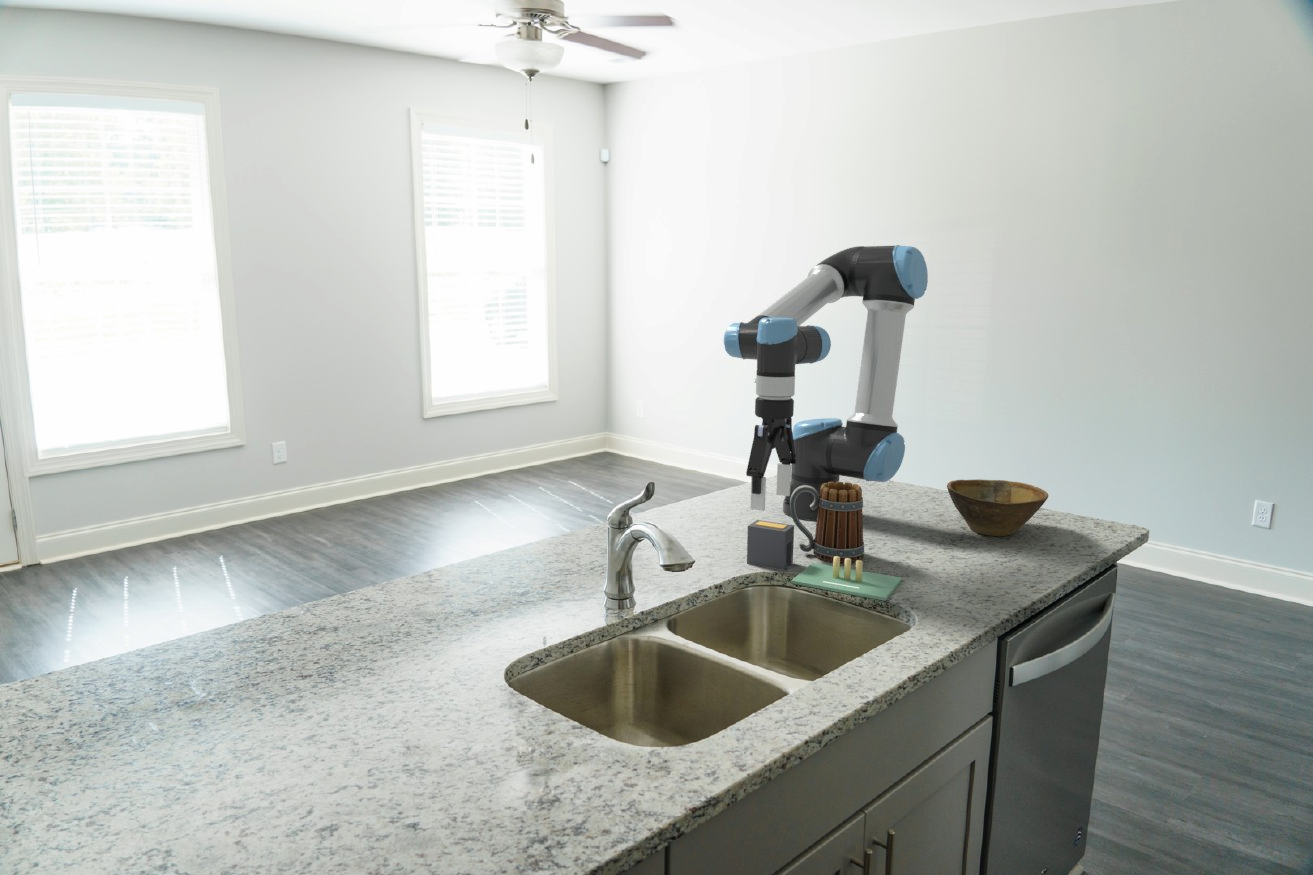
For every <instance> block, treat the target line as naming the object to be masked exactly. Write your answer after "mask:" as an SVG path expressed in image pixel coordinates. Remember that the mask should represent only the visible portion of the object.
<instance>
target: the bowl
mask: <svg viewBox="0 0 1313 875" xmlns="http://www.w3.org/2000/svg"><path fill="white" fill-rule="evenodd" d="M946 488H947V491H948V494H949V496H950V499H951V501H952V503H953V505H954V507H955V509H956V510H957V511H958V513H959V514H960V515H961V517H962V518H963V520H964V521H965V522H966V524H967V525H968V528H969V529H970V530H971V531H973V532H974V533H978V534H982V535H986V536H992V537H1006V536H1010V535H1011V536H1012V535H1013V534H1014V533H1015V532H1016V531H1018V529H1021V528H1022V527H1023V526H1024V525H1025V524H1026V523H1027V522H1028V521H1029V520H1030V519H1032V518H1033V516H1034V515H1035V514H1036V513H1037V512H1038V511H1039V510H1040V509H1041V508H1042V506H1043V505H1044V504H1045V503H1046V501H1047V500H1048V498H1049V494H1048V492H1047V491H1046V490H1044V489H1042V488H1040V487H1038V486H1035V485H1032V484H1029V483H1025V482H1019V481H1010V480H1002V479H955V480H950V481H949V482H948V483H947V485H946Z"/></svg>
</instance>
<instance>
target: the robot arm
mask: <svg viewBox="0 0 1313 875" xmlns="http://www.w3.org/2000/svg"><path fill="white" fill-rule="evenodd" d="M927 266H928V265H927V263H926V259H925V257H924V255H923V253H922V252H921V251H920V250H919V248H917V247H914V246H910V245H908V246H907V245H899V244H897V245H877V246H875V245H874V246H871V245H870V246H868V245H867V246H864V245H863V246H852V247H848V248H846V249H842V250H840V251H839V252H836V253H834V254H832V255H830V256H828V257H826V258H825V259H823V260H822V261H820V262H818V264H816V265H815V266H813V267H812V268H811V269H810V270H809V272H808V275H807V277H806V278H805V279H803V280H802V281H801V282H799V283H798V284H797V285H795V286H794V287H793V288H792V289H791V290H789V291H788V292H786V293H785V294H784V295H782V296H781V297H780V298H779V299H777V300H776V301H775V302H773V303H772V304H771V305H769V306H768V307H767V308H766V309H764V310H763V311H762V312H760V313H759V314H757V315H756V316H755V317H754V318H752V319H751V320H750V321H748V322H742V321H741V322H733V323H731V324H730V325H728V327H727V328H726V330H725V332H724V335H723V345H724V350H725V352H726V353H727V354H728V356H729V357H732V358H737V359H742V360H754V361H755V360H756V376H755V378H754V380H753V382H754V384H755V394H756V395H757V397H756V398H755V399H754V400H755V401H754V402H755V405H754V409H755V410H754V414H755V416H756V417H758V418H761V419H762V421H761V425H760V424H759V425H758V424H756V425H755V426H754V431H753V432H754V433H753V439H752V445H751V450H750V453H749V454H750V455H749V459H748V464H747V467H746V472H745V473H746V476H747V477H751V480H750V482H751V485H750V510H756V511H762V512H764V511H765V510H766V490H767V485H766V484H767V477H766V476H765V474H766V472H767V467H768V464H769V461H770V457H771V455H772V452H773V449H775V451H776V454H777V457H778V461H779V463H777V468H776V473H777V474H776V494H775V495H779V496H785V497H784V499H783V502H782V512H783V513H784V514H785V515H787V516H789V517H792V515H791V510H790V498H791V495H792V493H793V492H794V490H795V489H796V488H798V487H799V486H803V485H808V486H811V487H813V488H815V489H816V491H817V492H818V495H820V489H821V486H822V485H823V484H824V483H828V482H834V483H836V482H840V476H842V477H846V478H851V479H859V480H863V481H866V482H876V483H884V482H888V481H890V480H891V479H892V478H894V477H895V475H896V474H897V473H898V471H899V470H900V468H901V465H902V463H903V460H904V456H905V452H906V445H905V438H904V437H903V435H901V434H900V433H898V423H896V421H895V420H894V418H893V412H894V407H895V401H896V400H895V399H896V392H897V390H896V389H897V385H898V376H899V369H900V360H901V354H902V345H903V341H904V340H903V339H904V338H903V337H904V333H905V332H904V331H905V325H906V315H907V314H908V313H909V312H910V311H911V310H913V309H914V308H915V301H916V300H919V299H920V298H922V297H923V296H924V295H925V293H926V291H927V287H928V282H929V281H928V280H929V278H928V277H929V276H928V275H929V273H928V267H927ZM847 297H862V300H861V301H862V302H861V303H862V305H863V306H864V307H865V309H866V310H867V315H866V323H865V324H866V325H865V331H864V336H863V337H864V338H863V346H862V353H861V361H860V369H859V374H858V375H859V376H858V383H857V391H856V398H855V404H854V405H855V406H854V413H853V414H851V415H850V416H849V417H848V418H847V419H846V424H845V426H843V420H842V419H840V418H837V417H832V418H831V417H830V418H827V417H826V418H813V419H805V420H801V421H797V422H796V423H795V424H794V425H793V423H792V422H793V420H792V417H793V416H794V411H795V410H794V408H795V407H794V406H795V399H794V398H792V397H794V396H795V390H796V389H795V388H796V386H795V385H796V365H801V364H803V365H805V364H814V363H817V362H820V361H823V360H825V358H827V357H828V355H829V353H830V351H831V348H832V347H831V346H832V342H831V337H830V335H829V332H827V331H826V329H825V328H823V327H821V326H817V325H802V324H804V323H805V322H806V321H807V320H809V319H810V318H811V317H812V316H814V315H815V314H816V313H817V312H818V311H819V310H821V309H823V307H825V306H826V305H827V304H834V303H835V302H837V301H839V300H840V299H842V298H847ZM792 425H793V426H792ZM813 501H814V495H813V494H812V493H810V492H802V493H800V494H799V495H798V496H797V498H796V501H795V511H796V515H797V517H798V519H799V520H800V519H801V520H809V521H817V515H818V506H819V505H818V506H817V508H816V509H815V510H812V509H811V507H810V505H811V504H812V503H813Z"/></svg>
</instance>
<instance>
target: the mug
mask: <svg viewBox="0 0 1313 875" xmlns="http://www.w3.org/2000/svg"><path fill="white" fill-rule="evenodd" d="M802 492H810V493H812V494H813V495H814V501H813V503H812V504H811V505H810V507H811V509H812V510H815V509H816V508H817V506H818V505H819V506H818V515H817V520H816V524H815V525H816V526H815V535H814V537H813V534H812V533H811V532H810V530H809V529H808V528H807V527H806V526H805V525H804V524H803V523H802V522H801V520H800V518H798V517H797V515H796V511H795V501H796V498H797V496H798V495H799V494H800V493H802ZM863 508H864V497H863V489H862V486H861V485H859V484H857V483H852V482H848V481H847V482H845V483H844V482H843V481H839V482H836V483H834V482H828V483H824V484H823V485H822V486H821V489H820V495H818V492H817V491H816V489H815V488H813V487H811V486H808V485H803V486H799V487H798V488H796V489H795V490H794V492H793V493H792V495H791V498H790V510H791V515H792V516H791V519H792V520H793V523H794V525H795V526H796V527H797V528H798V530H799V531H800V532H801V533H802V534H803V535H804V536H805V537H806V538H807V540H808V544H807V545H806V544H805V542H804V541H798V545H799V548H800V550H801V551H803V552H804V553H809V552H811V551H813V552H812V553H813V554H814V556H815V557H816V558H817V557H818V558H817V559H819V560H821V561H825V562H827V561H830V562H829V563H833V559H834V557H835V556H838V557H840V564H845V558H850V559H851V562H852V563H856V560H862V558H863V557H864V553H865V542H864V528H863V524H864V523H863V520H864V519H863Z"/></svg>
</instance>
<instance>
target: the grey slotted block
mask: <svg viewBox="0 0 1313 875" xmlns="http://www.w3.org/2000/svg"><path fill="white" fill-rule="evenodd" d="M794 537H795V524H794V525H793V524H786V523H782V522H781V523H780V522H774V521H773V522H772V521H767V520H760V519H756V520H755V521H753V522H752V523H750V524H748V525H747V538H746V540H747V546H746V564H747V565H751V566H752V565H753V566H756V567H757V566H758V567H763V568H770V569H774V570H781V571H785V570H786V569H787V565H792V564H794V562H793V561H794V543H795V542H794Z"/></svg>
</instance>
